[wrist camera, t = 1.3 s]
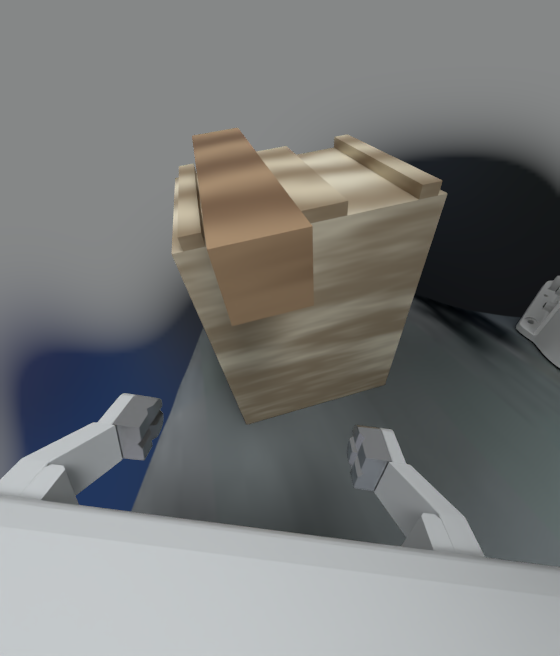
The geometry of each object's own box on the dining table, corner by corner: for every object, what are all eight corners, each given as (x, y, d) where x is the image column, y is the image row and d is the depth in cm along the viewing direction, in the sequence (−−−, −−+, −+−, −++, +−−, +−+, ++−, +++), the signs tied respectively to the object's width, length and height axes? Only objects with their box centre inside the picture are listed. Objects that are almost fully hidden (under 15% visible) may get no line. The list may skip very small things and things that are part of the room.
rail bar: (205, 185, 26) (192, 135, 24) (246, 177, 27) (237, 127, 24) (232, 326, 13) (206, 249, 10) (313, 305, 13) (312, 226, 10)
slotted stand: (231, 339, 48) (171, 167, 28) (339, 311, 50) (353, 133, 30) (246, 424, 37) (165, 240, 17) (384, 384, 39) (452, 178, 19)
